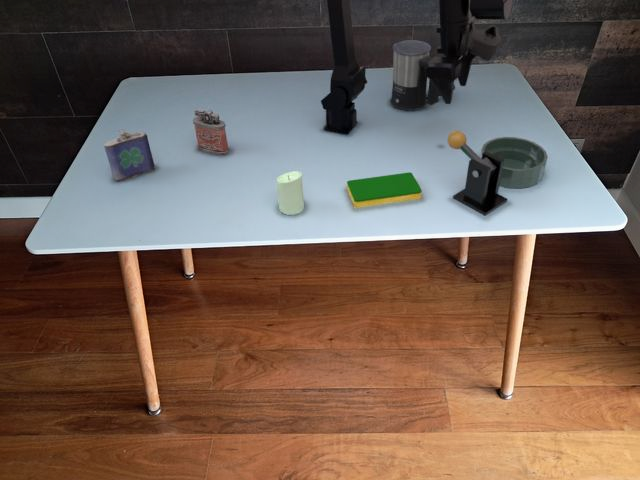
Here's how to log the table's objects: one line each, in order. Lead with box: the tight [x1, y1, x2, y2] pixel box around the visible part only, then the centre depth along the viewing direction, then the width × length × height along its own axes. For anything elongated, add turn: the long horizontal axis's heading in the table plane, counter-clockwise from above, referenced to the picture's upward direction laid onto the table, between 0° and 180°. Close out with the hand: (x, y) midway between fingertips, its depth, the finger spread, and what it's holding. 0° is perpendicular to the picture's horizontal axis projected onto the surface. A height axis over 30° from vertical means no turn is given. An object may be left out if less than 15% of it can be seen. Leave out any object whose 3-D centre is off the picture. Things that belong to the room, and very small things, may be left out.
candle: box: [276, 171, 305, 216], centre depth 115 cm, size 5×5×8 cm
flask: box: [103, 128, 156, 182], centre depth 126 cm, size 9×3×11 cm, turn 121°
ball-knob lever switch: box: [452, 151, 509, 217], centre depth 114 cm, size 8×7×10 cm
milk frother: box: [390, 39, 456, 111], centre depth 148 cm, size 14×16×15 cm
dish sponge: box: [346, 171, 422, 210], centre depth 120 cm, size 7×14×2 cm, turn 101°
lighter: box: [192, 108, 230, 157], centre depth 133 cm, size 8×3×10 cm, turn 65°
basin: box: [479, 136, 548, 189], centre depth 123 cm, size 13×13×5 cm
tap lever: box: [447, 130, 497, 175], centre depth 114 cm, size 11×4×4 cm, turn 40°
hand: (455, 94), depth 123 cm, fingers open, 9 cm apart
